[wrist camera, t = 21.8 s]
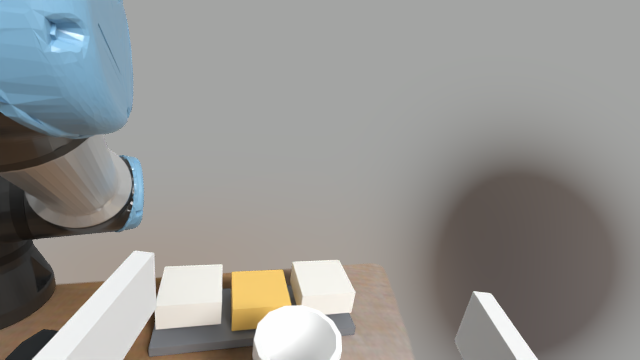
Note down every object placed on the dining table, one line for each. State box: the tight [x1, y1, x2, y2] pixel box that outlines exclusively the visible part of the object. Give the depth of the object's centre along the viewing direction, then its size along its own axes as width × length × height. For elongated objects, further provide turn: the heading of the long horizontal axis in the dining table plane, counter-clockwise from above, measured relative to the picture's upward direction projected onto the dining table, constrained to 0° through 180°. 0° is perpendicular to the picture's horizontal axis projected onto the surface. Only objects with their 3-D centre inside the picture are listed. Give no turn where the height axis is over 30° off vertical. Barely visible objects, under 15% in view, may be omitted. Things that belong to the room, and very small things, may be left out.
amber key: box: [231, 270, 291, 331], centre depth 52 cm, size 8×8×4 cm
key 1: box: [290, 260, 355, 315], centre depth 55 cm, size 8×8×4 cm
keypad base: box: [149, 285, 356, 357], centre depth 54 cm, size 30×11×2 cm, turn 105°
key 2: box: [155, 264, 222, 330], centre depth 49 cm, size 8×8×4 cm
